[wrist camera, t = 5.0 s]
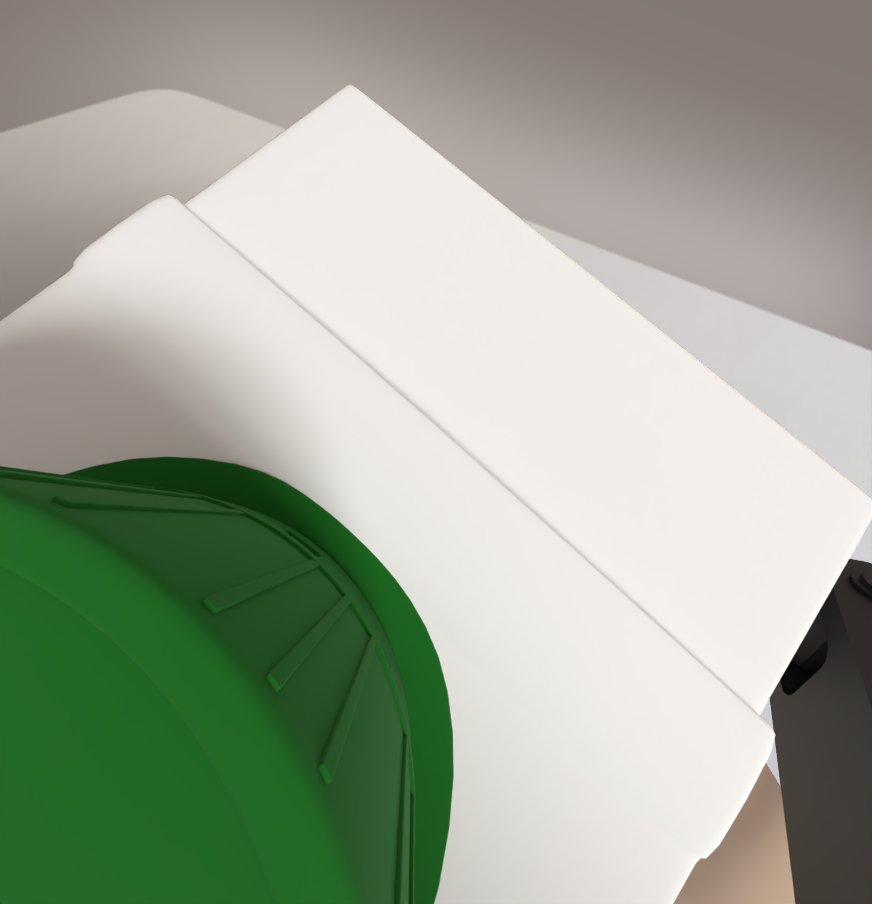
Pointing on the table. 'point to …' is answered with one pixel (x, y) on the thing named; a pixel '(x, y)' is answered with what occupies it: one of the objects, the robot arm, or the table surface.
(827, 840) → the robot arm
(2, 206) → the table surface
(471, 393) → the soya milk
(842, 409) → the table surface
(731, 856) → the walnut board
